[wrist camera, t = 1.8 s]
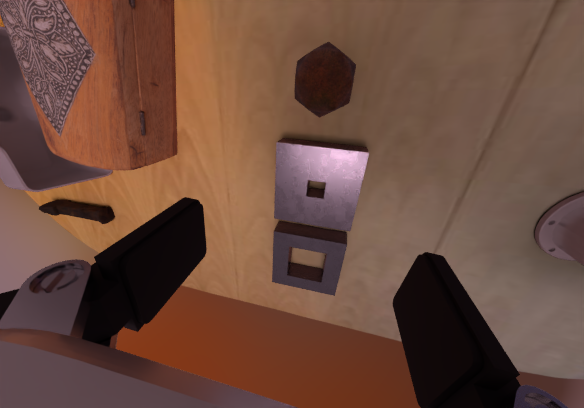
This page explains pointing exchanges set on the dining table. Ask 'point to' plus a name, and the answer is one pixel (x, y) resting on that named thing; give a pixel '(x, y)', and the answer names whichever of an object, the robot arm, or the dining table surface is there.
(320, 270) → the wide-bore block
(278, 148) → the narrow-bore block
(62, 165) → the tank
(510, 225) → the dining table surface
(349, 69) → the bolt
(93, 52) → the wooden box
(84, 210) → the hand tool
